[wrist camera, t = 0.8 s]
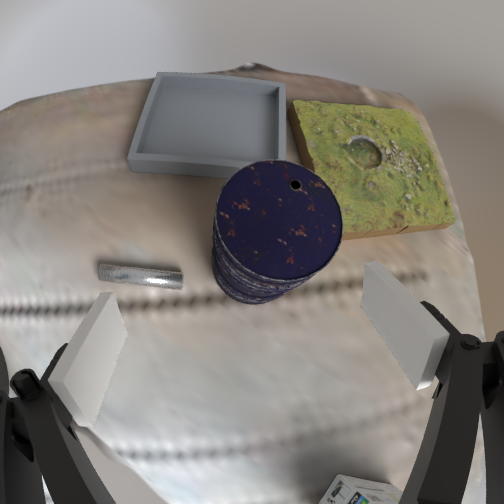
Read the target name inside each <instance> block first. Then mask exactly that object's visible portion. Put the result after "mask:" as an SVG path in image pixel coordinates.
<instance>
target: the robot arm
mask: <svg viewBox="0 0 504 504" xmlns="http://www.w3.org/2000/svg"><path fill="white" fill-rule="evenodd" d="M361 308H362V309H363V311H364V312H365V314H366V315H367V316H368V318H369V319H370V321H371V322H372V324H373V325H374V327H375V328H376V330H377V331H378V333H379V334H380V335H381V337H382V338H383V340H384V341H385V343H386V344H387V346H388V347H389V349H390V350H391V352H392V353H393V355H394V356H395V358H396V360H397V361H398V363H399V364H400V366H401V367H402V369H403V370H404V372H405V373H406V375H407V377H408V378H409V380H410V381H411V383H412V384H413V386H414V388H415V389H416V390H419V389H422V388H425V387H427V386H430V385H431V384H432V382H433V379H434V377H435V375H436V377H437V378H438V380H439V383H438V385H437V388H436V390H435V392H434V394H433V397H432V398H433V399H434V402H433V406H432V410H431V413H430V417H429V421H428V424H427V428H426V431H425V434H424V438H423V441H422V444H421V447H420V450H419V453H418V456H417V459H416V461H415V464H414V467H413V469H412V472H411V475H410V477H409V480H408V482H407V485H406V487H405V489H404V492H403V494H402V496H401V499H400V501H399V503H398V504H461V502H462V498H463V495H464V491H465V488H466V484H467V480H468V476H469V472H470V468H471V463H472V458H473V453H474V448H475V442H476V436H477V429H478V422H479V414H481V421H482V429H483V438H484V448H485V462H486V504H504V331H501V332H499V333H497V335H496V338H495V340H494V341H493V342H481V341H480V340H479V339H478V338H477V337H475V336H473V335H470V334H461V333H460V332H459V331H458V330H457V329H456V328H455V327H454V326H453V325H452V324H451V323H450V322H449V321H448V320H447V319H446V318H445V317H444V316H443V315H442V314H441V313H440V312H439V311H438V310H437V308H436V307H434V306H433V305H431V304H430V303H428V302H426V301H422V302H419V301H418V300H417V299H416V298H415V297H414V296H413V295H412V294H411V293H410V292H409V291H408V290H407V289H406V288H405V287H404V286H403V285H402V284H401V283H400V282H399V281H398V280H397V279H396V278H395V277H394V276H393V275H392V274H391V273H390V272H389V271H388V270H387V269H386V268H385V267H384V266H383V265H382V264H381V263H379V262H378V261H373V262H366V263H365V268H364V281H363V292H362V303H361ZM127 335H128V333H127V331H126V328H125V325H124V323H123V320H122V317H121V314H120V311H119V308H118V305H117V302H116V299H115V296H114V293H113V292H107V293H100V295H99V296H98V298H97V299H96V301H95V302H94V304H93V305H92V307H91V308H90V310H89V312H88V313H87V315H86V316H85V318H84V319H83V321H82V323H81V324H80V326H79V327H78V329H77V331H76V332H75V334H74V335H73V337H72V339H71V340H70V342H69V343H65V344H64V345H63V346H62V347H61V348H60V349H58V351H57V352H56V354H55V356H54V357H53V358H54V359H52V361H51V362H50V365H49V366H48V367H47V369H46V371H45V373H44V374H43V376H42V378H41V380H39V379H38V377H37V376H36V374H35V372H34V371H33V370H32V369H23V370H20V371H19V372H17V373H16V374H15V375H14V376H13V377H12V379H11V380H10V386H11V388H12V389H13V391H14V392H15V394H16V395H17V397H15V398H9V396H8V394H9V380H8V372H7V367H6V363H5V359H4V356H3V353H2V350H1V348H0V504H46V501H45V495H44V489H43V482H42V476H43V478H44V481H45V483H46V486H47V488H48V491H49V493H50V495H51V498H52V500H53V502H54V504H116V503H115V501H114V500H113V498H112V497H111V495H110V493H109V492H108V490H107V489H106V487H105V486H104V484H103V482H102V481H101V479H100V478H99V476H98V474H97V472H96V471H95V469H94V467H93V465H92V464H91V462H90V460H89V458H88V456H87V455H86V452H85V451H84V449H83V447H82V445H81V443H80V441H79V439H78V437H77V435H76V433H75V430H74V428H73V427H72V426H71V425H70V423H71V420H72V418H73V419H74V420H75V421H76V423H77V424H78V425H79V426H84V427H92V428H94V425H95V422H96V419H97V416H98V413H99V410H100V407H101V404H102V401H103V399H104V396H105V393H106V390H107V387H108V385H109V382H110V379H111V376H112V374H113V371H114V368H115V366H116V363H117V360H118V358H119V355H120V353H121V350H122V348H123V345H124V343H125V340H126V338H127ZM41 473H42V474H41Z"/></svg>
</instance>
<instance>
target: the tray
mask: <svg viewBox="0 0 504 504" xmlns="http://www.w3.org/2000/svg"><path fill="white" fill-rule="evenodd" d="M269 159H278V160H286V84H285V83H279V82H273V81H267V80H260V79H253V78H245V77H236V76H226V75H215V74H200V73H178V72H157V75H156V77H155V80H154V82H153V85H152V87H151V90H150V92H149V95H148V97H147V100H146V103H145V105H144V108H143V111H142V114H141V117H140V119H139V122H138V125H137V128H136V131H135V134H134V137H133V141H132V144H131V147H130V150H129V153H128V157H127V161H128V164H129V166H130V169H131V171H132V172H148V173H164V174H179V175H191V176H203V177H214V178H224V179H229V178H230V177H231V176H232V175H233V174H234V173H235V172H236V171H238V170H239V169H241V168H242V167H244V166H246V165H248V164H251V163H254V162H257V161H261V160H269Z"/></svg>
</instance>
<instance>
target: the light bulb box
mask: <svg viewBox="0 0 504 504" xmlns="http://www.w3.org/2000/svg"><path fill="white" fill-rule="evenodd" d="M402 494H403V491H401V490H400V489H398V488H397V487H395V486H394V485H392V484H387V483H380V482H374V481H369V480H364V479H359V478H354V477H350V476H345V475H341V474H338V475H337V476H336V478H335V479H334V481H333V482H332V484H331V485H330V487H329V488H328V490H327V491H326V493H325V494H324V496H323V497H322V499H321V500H320V502H319V503H318V504H398V503H399V501H400V499H401V496H402Z"/></svg>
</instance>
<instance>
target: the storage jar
mask: <svg viewBox="0 0 504 504" xmlns="http://www.w3.org/2000/svg"><path fill="white" fill-rule="evenodd" d="M342 236H343V215H342V211H341V207H340V205H339V202H338V200H337V198H336V196H335V194H334V193H333V191H332V190H331V188H330V187H329V186H328V185H327V183H326V182H325V181H324V180H323V179H322V178H321V177H320V176H318V175H317V174H316V173H314V172H313V171H311V170H310V169H308V168H306V167H304V166H302V165H299V164H297V163H294V162H290V161H286V160H278V159H269V160H261V161H257V162H254V163H251V164H248V165H246V166H244V167H242V168H241V169H239V170H238V171H236V172H235V173H234V174H233V175H232V176H231V177H230V178H229V179H228V180H227V181H226V183H225V184H224V186H223V187H222V189H221V191H220V193H219V196H218V199H217V203H216V211H215V217H214V224H213V249H212V266H213V272H214V276H215V279H216V281H217V283H218V285H219V286H220V288H221V289H222V290H223V291H224V292H225V293H226V294H227V295H228V296H229V297H231V298H232V299H234V300H236V301H238V302H241V303H245V304H251V305H257V304H263V303H267V302H270V301H273V300H275V299H277V298H279V297H281V296H282V295H284V294H285V293H287V292H288V291H289V290H291V289H293V288H295V287H297V286H299V285H301V284H302V283H304V282H306V281H307V280H309V279H310V278H311V277H313V276H314V275H315V274H316V273H318V272H319V271H320V270H322V269H323V268H324V267H326V266H327V265H328V263H329V262H330V261H331V260H332V259H333V257H334V256H335V254H336V253H337V251H338V249H339V246H340V244H341V240H342Z"/></svg>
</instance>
